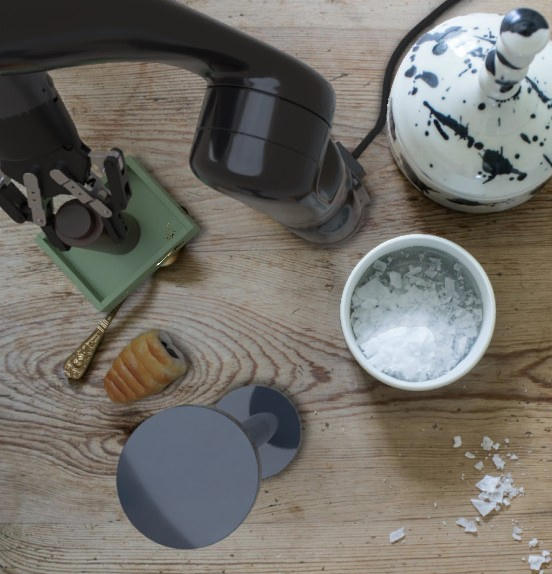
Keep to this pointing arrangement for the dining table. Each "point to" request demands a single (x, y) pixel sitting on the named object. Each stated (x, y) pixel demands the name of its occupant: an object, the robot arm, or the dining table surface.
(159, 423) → the stand
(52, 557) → the dining table surface
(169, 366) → the pastry
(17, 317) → the dining table surface
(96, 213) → the pepper mill
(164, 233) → the tray
